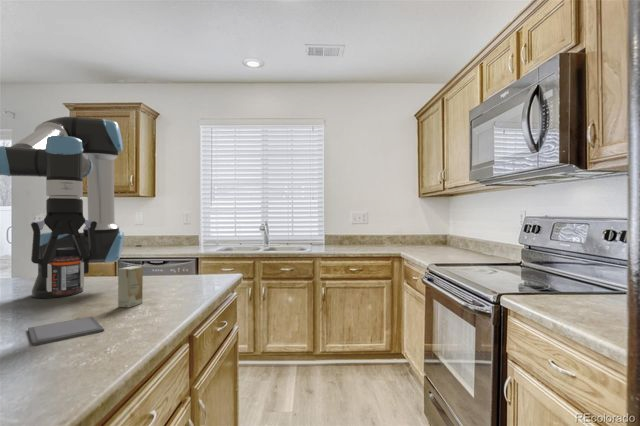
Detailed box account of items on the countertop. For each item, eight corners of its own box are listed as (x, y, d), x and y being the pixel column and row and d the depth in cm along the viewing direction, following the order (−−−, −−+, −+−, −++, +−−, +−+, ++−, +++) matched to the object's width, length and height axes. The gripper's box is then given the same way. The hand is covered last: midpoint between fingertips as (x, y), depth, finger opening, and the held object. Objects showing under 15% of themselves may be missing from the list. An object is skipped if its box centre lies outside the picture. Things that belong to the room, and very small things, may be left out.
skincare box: (129, 308, 109) (129, 269, 109) (117, 307, 110) (117, 268, 110) (143, 302, 116) (143, 266, 116) (132, 302, 117) (132, 265, 117)
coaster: (28, 330, 89) (28, 327, 89) (92, 318, 99) (92, 316, 99) (32, 345, 79) (32, 342, 79) (103, 331, 89) (103, 328, 89)
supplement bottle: (47, 293, 88) (47, 248, 88) (74, 289, 93) (74, 246, 93) (56, 296, 85) (56, 250, 85) (83, 292, 90) (84, 248, 90)
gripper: (16, 196, 80) (17, 297, 80) (111, 198, 93) (111, 285, 93) (14, 197, 85) (15, 291, 85) (104, 198, 98) (104, 281, 98)
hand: (65, 288), depth 89 cm, fingers closed on supplement bottle, 6 cm apart
